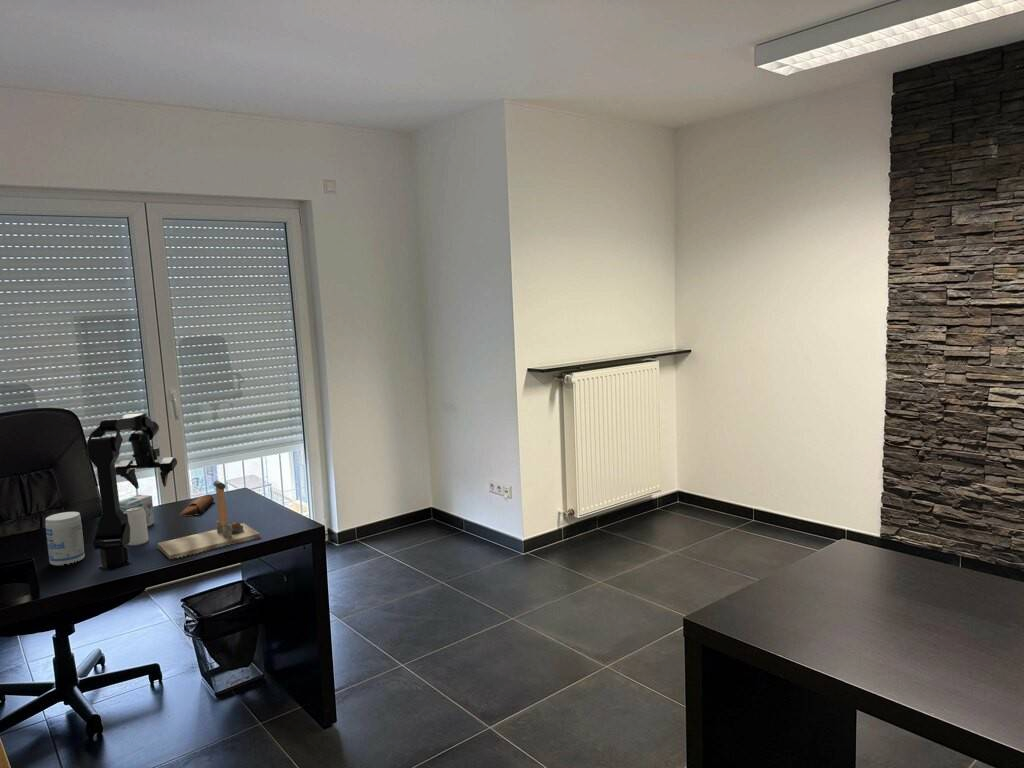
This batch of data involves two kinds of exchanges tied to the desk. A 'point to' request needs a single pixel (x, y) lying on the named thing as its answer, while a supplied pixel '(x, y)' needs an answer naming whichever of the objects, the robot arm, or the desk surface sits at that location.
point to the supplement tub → (64, 538)
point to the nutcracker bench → (208, 540)
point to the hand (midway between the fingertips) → (151, 487)
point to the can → (137, 525)
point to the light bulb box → (140, 501)
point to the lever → (221, 502)
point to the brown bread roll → (198, 505)
